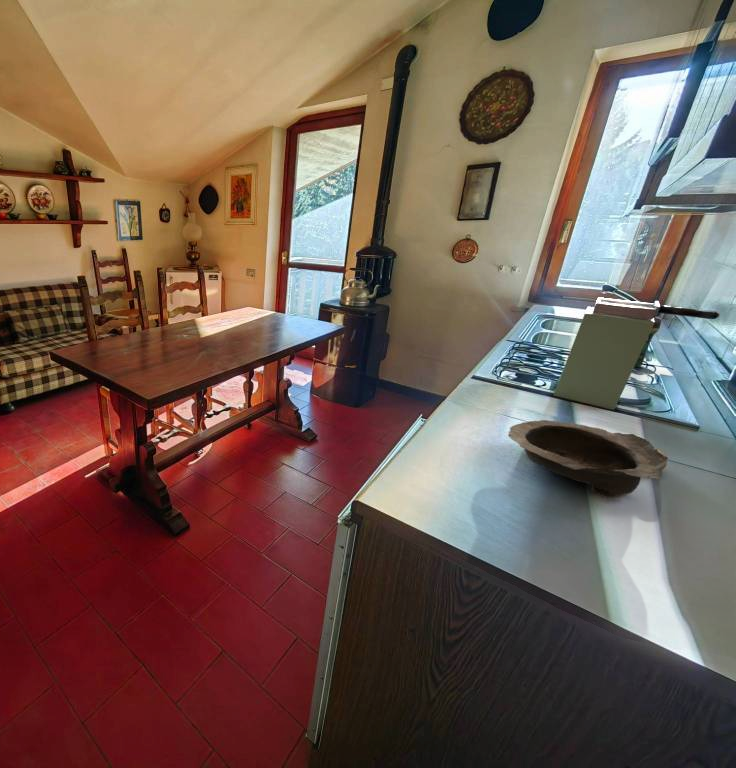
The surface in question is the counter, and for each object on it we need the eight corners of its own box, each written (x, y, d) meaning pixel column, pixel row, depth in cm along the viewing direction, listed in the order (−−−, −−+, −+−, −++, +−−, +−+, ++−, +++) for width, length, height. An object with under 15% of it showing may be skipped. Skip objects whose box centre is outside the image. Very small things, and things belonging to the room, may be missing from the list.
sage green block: (614, 397, 120) (652, 314, 110) (614, 410, 112) (654, 322, 102) (557, 384, 129) (587, 306, 118) (553, 395, 121) (584, 313, 110)
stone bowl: (684, 522, 70) (705, 480, 67) (519, 498, 79) (530, 459, 75) (614, 449, 91) (627, 415, 88) (490, 437, 100) (497, 404, 97)
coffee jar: (607, 363, 148) (627, 315, 141) (606, 357, 154) (626, 311, 146) (642, 369, 143) (666, 319, 135) (640, 363, 148) (662, 315, 141)
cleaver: (711, 321, 102) (718, 307, 101) (717, 328, 95) (725, 313, 94) (594, 307, 117) (599, 295, 115) (592, 312, 110) (597, 299, 109)
